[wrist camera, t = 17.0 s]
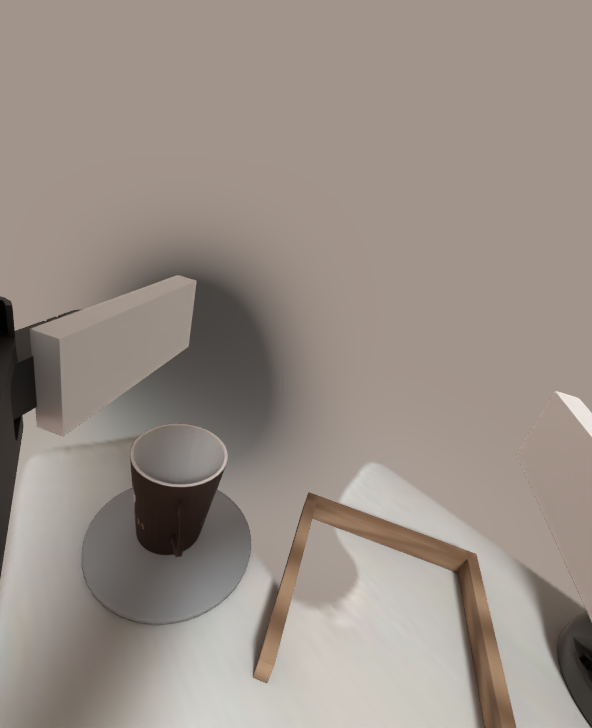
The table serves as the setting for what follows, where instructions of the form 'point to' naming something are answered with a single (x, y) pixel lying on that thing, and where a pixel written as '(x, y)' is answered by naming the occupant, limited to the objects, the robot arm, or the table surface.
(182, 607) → the mat
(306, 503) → the brown wooden open frame
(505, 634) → the table surface
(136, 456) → the coffee mug
